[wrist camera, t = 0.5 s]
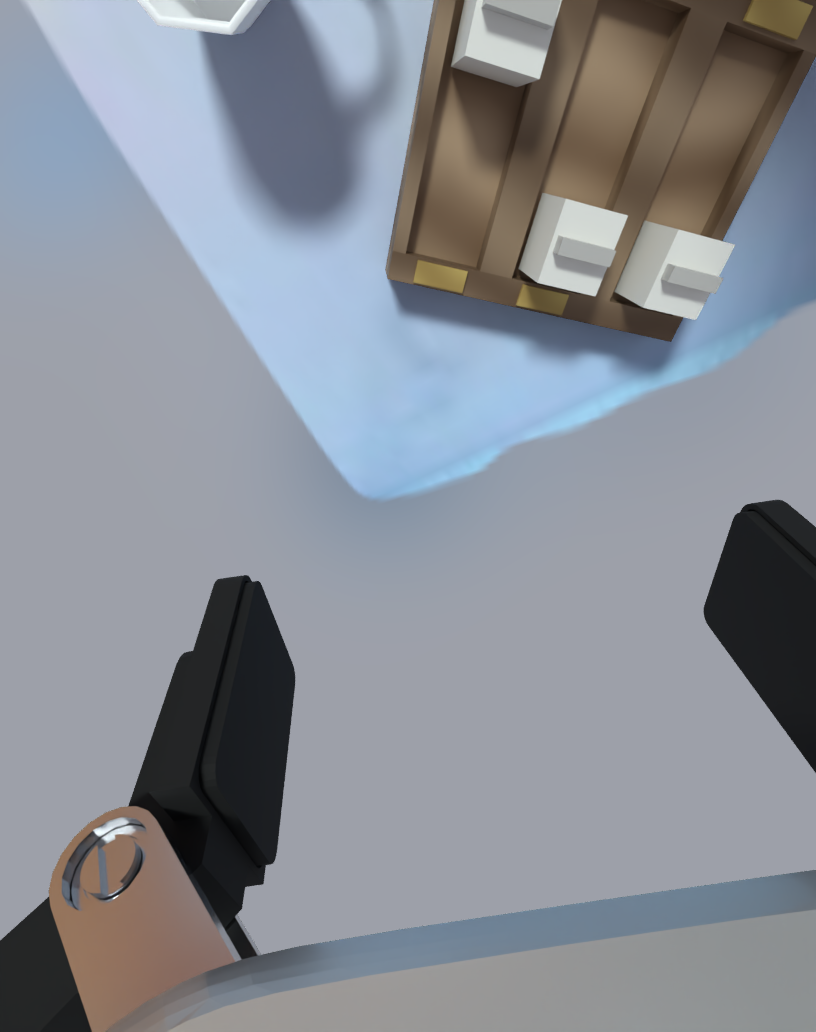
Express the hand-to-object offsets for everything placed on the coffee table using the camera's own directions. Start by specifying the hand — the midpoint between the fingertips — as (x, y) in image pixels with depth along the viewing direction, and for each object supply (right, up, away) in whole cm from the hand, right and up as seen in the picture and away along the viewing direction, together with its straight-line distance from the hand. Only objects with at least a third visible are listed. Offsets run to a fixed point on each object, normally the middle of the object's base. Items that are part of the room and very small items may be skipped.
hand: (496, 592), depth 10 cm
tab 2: (+13, +17, +21) cm, 30 cm away
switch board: (+8, +23, +19) cm, 31 cm away
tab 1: (+2, +25, +14) cm, 29 cm away
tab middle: (+7, +18, +20) cm, 28 cm away
